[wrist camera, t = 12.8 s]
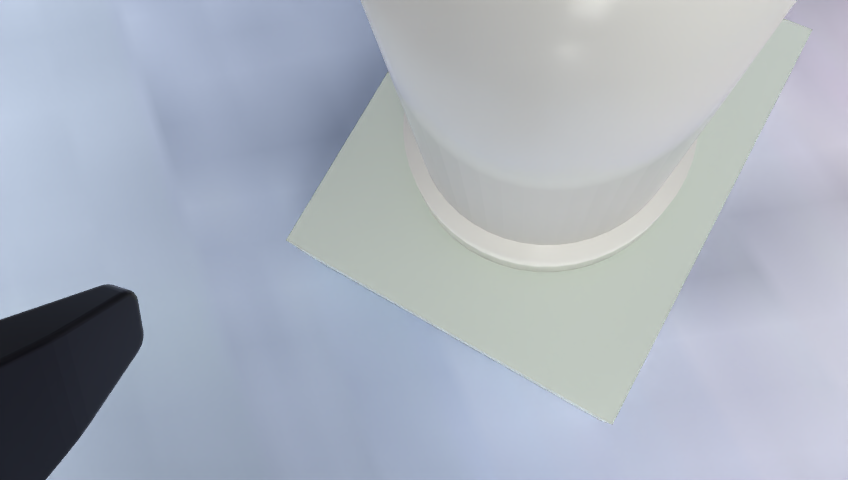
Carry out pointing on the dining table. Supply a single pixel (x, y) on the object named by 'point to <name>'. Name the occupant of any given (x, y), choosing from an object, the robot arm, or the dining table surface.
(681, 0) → the cream jar
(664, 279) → the sage block
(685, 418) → the dining table surface
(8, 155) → the dining table surface
